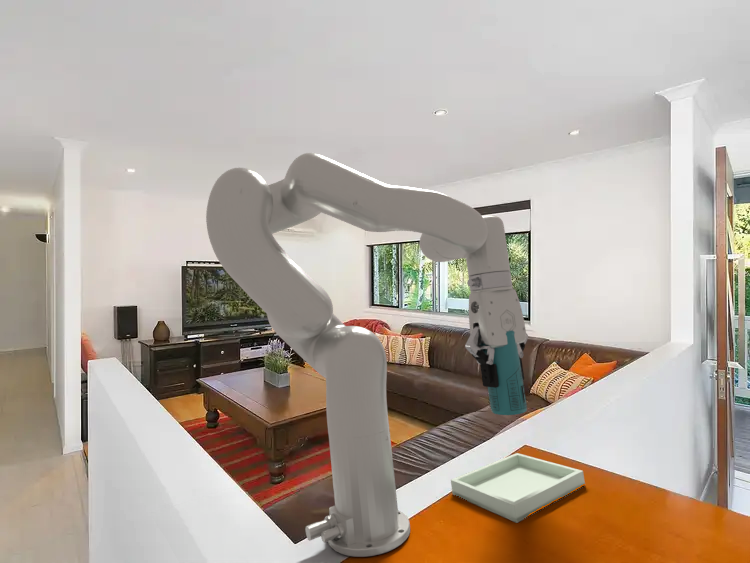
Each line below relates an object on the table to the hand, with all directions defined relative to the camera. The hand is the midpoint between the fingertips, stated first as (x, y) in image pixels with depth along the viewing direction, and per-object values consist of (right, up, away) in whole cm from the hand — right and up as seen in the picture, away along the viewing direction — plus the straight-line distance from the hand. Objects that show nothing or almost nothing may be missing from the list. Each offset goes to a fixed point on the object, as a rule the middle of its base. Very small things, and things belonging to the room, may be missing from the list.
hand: (503, 382), depth 73 cm
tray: (+2, -18, -2) cm, 19 cm away
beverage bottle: (+1, -7, -1) cm, 7 cm away
